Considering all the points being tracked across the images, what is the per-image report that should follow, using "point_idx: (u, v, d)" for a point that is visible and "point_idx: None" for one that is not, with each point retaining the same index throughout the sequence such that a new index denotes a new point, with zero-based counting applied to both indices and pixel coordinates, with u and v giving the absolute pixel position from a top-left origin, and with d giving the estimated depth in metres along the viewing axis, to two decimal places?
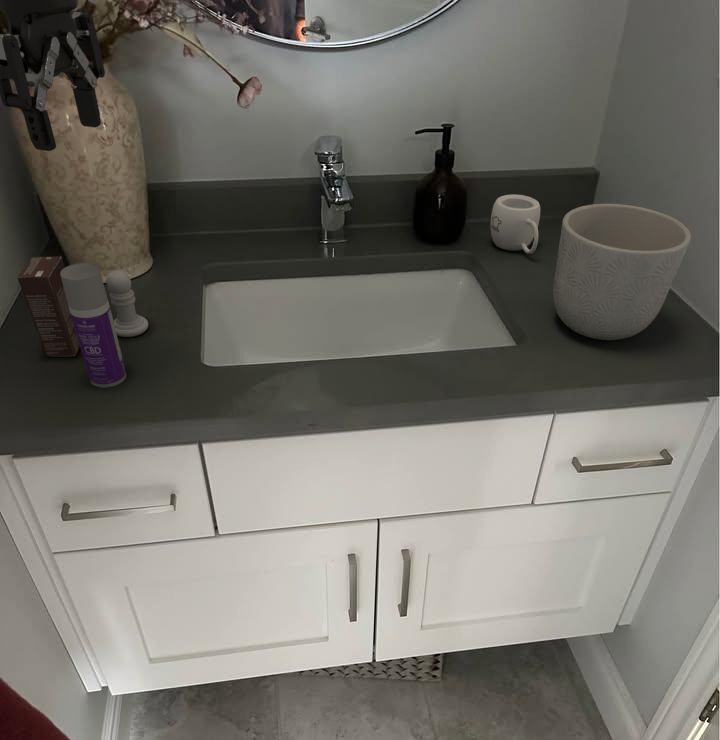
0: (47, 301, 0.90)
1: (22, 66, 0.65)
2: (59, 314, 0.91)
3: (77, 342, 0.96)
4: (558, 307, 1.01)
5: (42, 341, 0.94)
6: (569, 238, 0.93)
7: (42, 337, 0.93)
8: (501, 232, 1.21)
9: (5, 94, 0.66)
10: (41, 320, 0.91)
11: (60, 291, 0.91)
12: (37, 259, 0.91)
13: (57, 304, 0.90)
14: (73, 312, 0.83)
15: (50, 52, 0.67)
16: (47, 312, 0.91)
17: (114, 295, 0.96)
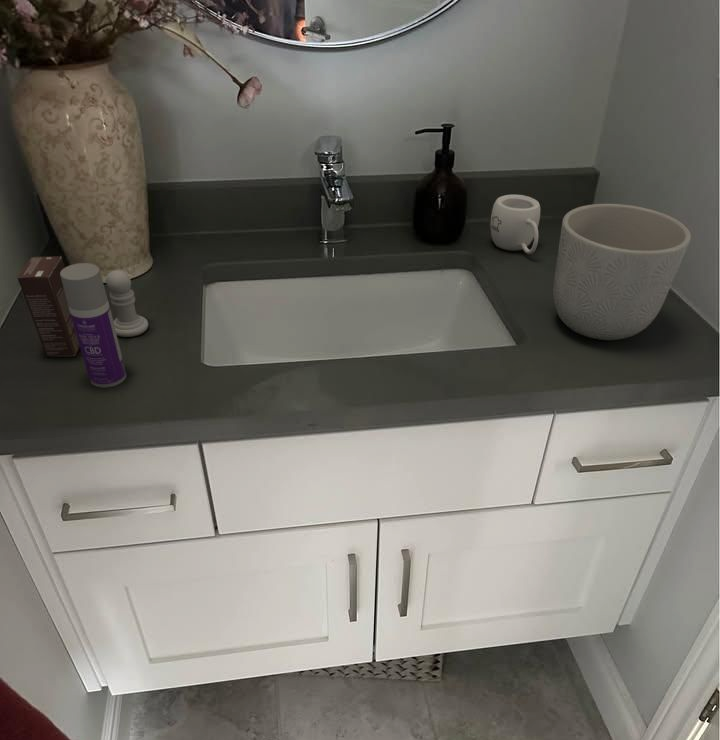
0: (47, 301, 0.90)
1: None
2: (59, 314, 0.91)
3: (77, 342, 0.96)
4: (558, 307, 1.01)
5: (42, 341, 0.94)
6: (569, 238, 0.93)
7: (42, 337, 0.93)
8: (501, 232, 1.21)
9: None
10: (41, 320, 0.91)
11: (60, 291, 0.91)
12: (37, 259, 0.91)
13: (57, 304, 0.90)
14: (73, 312, 0.83)
15: None
16: (47, 312, 0.91)
17: (114, 295, 0.96)
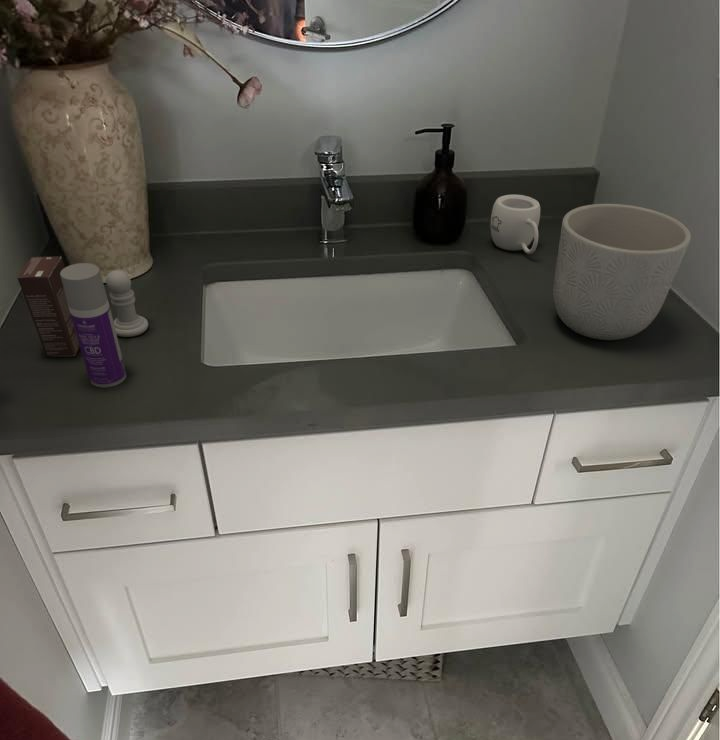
0: (47, 301, 0.90)
1: None
2: (59, 314, 0.91)
3: (77, 342, 0.96)
4: (558, 307, 1.01)
5: (42, 341, 0.94)
6: (569, 238, 0.93)
7: (42, 337, 0.93)
8: (501, 232, 1.21)
9: None
10: (41, 320, 0.91)
11: (60, 291, 0.91)
12: (37, 259, 0.91)
13: (57, 304, 0.90)
14: (73, 312, 0.83)
15: None
16: (47, 312, 0.91)
17: (114, 295, 0.96)
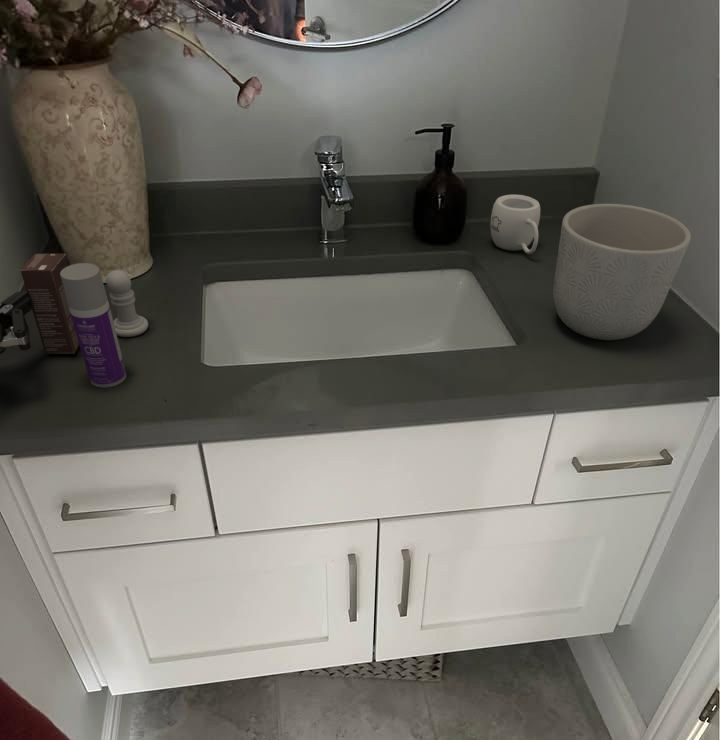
0: (49, 295, 0.90)
1: None
2: (60, 309, 0.91)
3: (77, 340, 0.96)
4: (558, 307, 1.01)
5: (42, 337, 0.93)
6: (569, 238, 0.93)
7: (42, 333, 0.93)
8: (501, 232, 1.21)
9: None
10: (42, 314, 0.91)
11: (63, 287, 0.91)
12: (41, 255, 0.91)
13: (59, 298, 0.90)
14: (73, 312, 0.83)
15: None
16: (49, 306, 0.91)
17: (114, 295, 0.96)
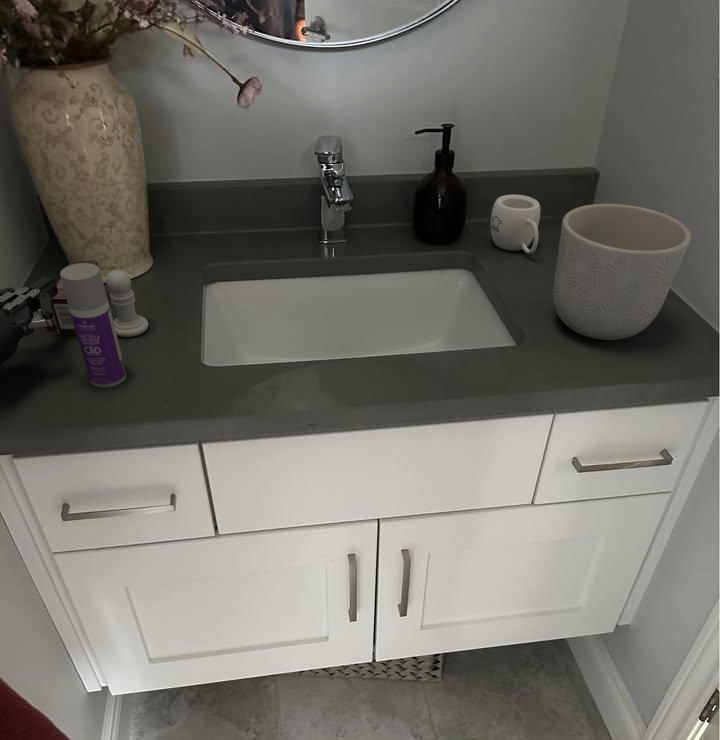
0: None
1: None
2: None
3: None
4: (558, 307, 1.01)
5: None
6: (569, 238, 0.93)
7: None
8: (501, 232, 1.21)
9: None
10: None
11: None
12: None
13: None
14: (73, 312, 0.83)
15: None
16: None
17: (114, 295, 0.96)
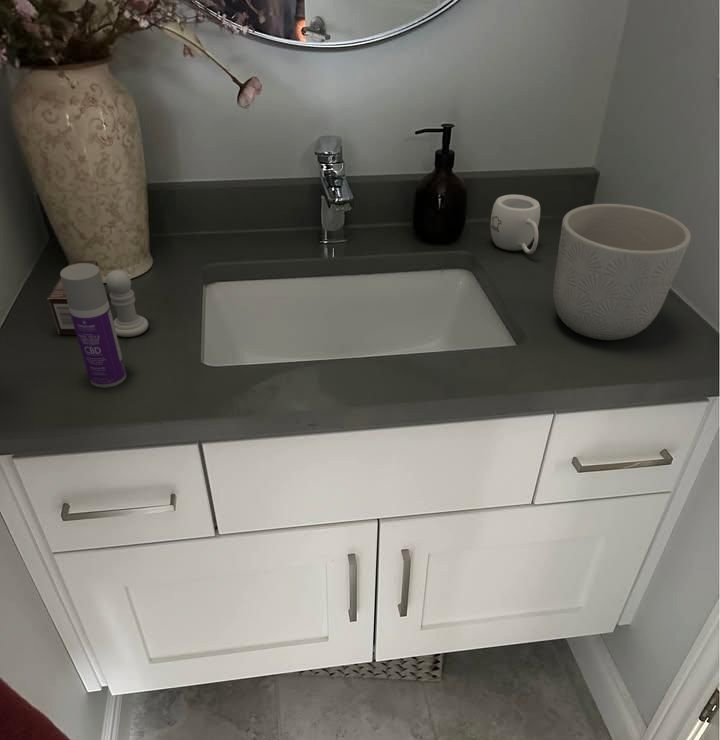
0: None
1: None
2: None
3: None
4: (558, 307, 1.01)
5: (54, 289, 0.98)
6: (569, 238, 0.93)
7: (56, 287, 0.98)
8: (501, 232, 1.21)
9: None
10: None
11: None
12: None
13: None
14: (73, 312, 0.83)
15: None
16: None
17: (114, 295, 0.96)
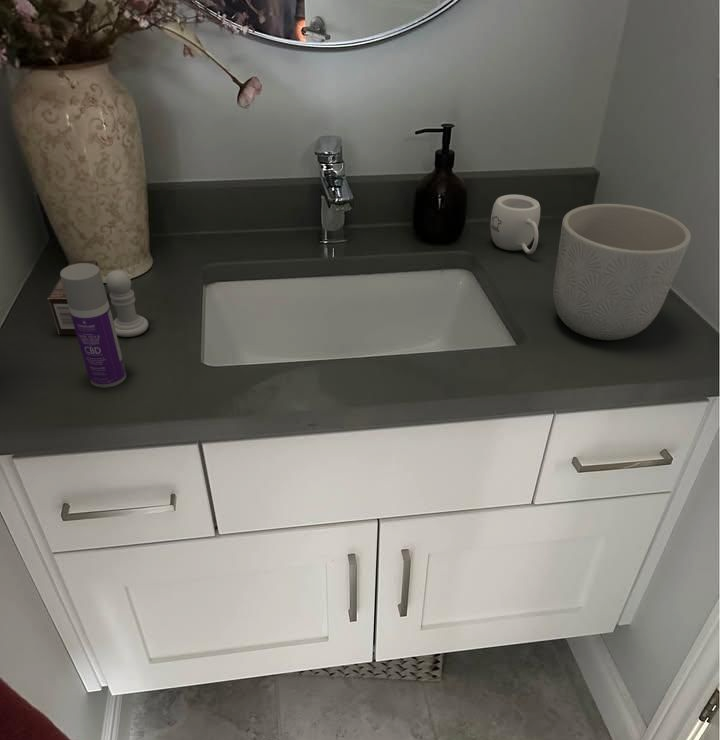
0: None
1: None
2: None
3: None
4: (558, 307, 1.01)
5: (54, 289, 0.98)
6: (569, 238, 0.93)
7: (56, 287, 0.98)
8: (501, 232, 1.21)
9: None
10: None
11: None
12: None
13: None
14: (73, 312, 0.83)
15: None
16: None
17: (114, 295, 0.96)
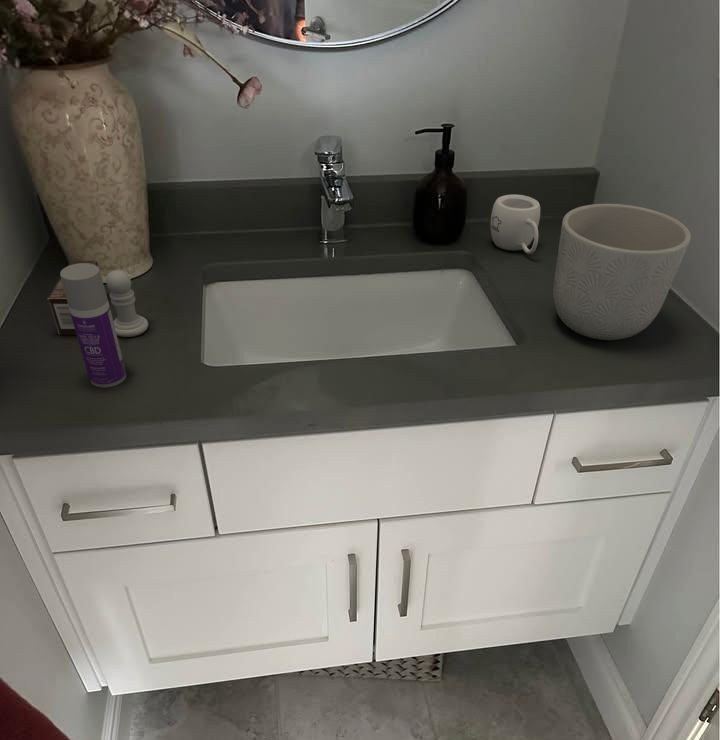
0: None
1: None
2: None
3: None
4: (558, 307, 1.01)
5: (54, 289, 0.98)
6: (569, 238, 0.93)
7: (56, 287, 0.98)
8: (501, 232, 1.21)
9: None
10: None
11: None
12: None
13: None
14: (73, 312, 0.83)
15: None
16: None
17: (114, 295, 0.96)
